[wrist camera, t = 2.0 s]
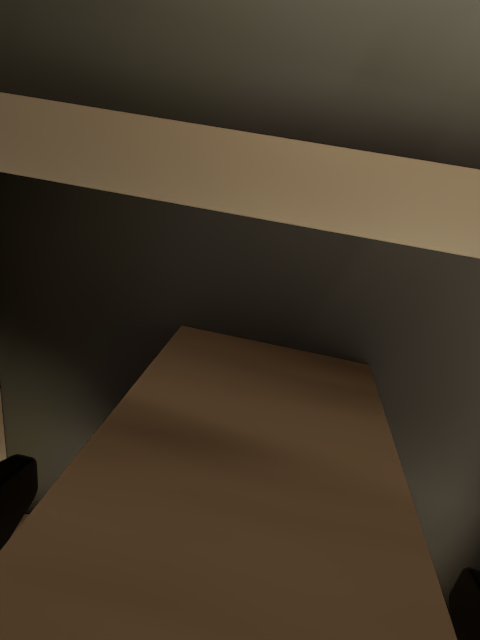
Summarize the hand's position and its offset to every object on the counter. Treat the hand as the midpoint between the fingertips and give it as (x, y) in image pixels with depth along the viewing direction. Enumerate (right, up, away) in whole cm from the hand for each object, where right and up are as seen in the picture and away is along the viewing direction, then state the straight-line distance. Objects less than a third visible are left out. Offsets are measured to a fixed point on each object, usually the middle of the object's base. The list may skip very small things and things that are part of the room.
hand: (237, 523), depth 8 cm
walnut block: (+1, +1, +3) cm, 3 cm away
